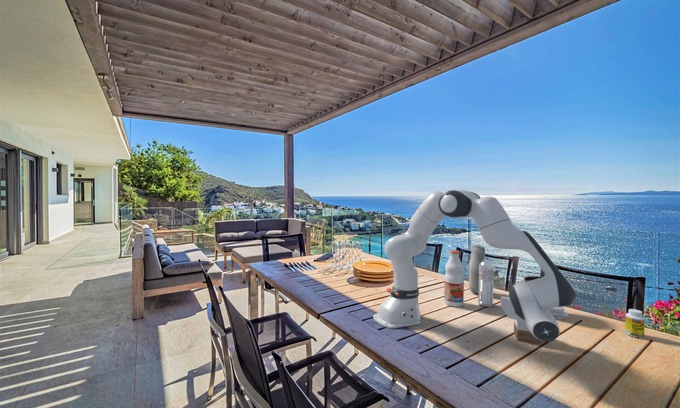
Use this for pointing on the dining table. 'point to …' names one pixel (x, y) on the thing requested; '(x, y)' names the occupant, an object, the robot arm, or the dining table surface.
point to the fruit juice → (454, 281)
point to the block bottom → (525, 336)
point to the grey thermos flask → (475, 267)
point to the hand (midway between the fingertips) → (527, 299)
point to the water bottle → (486, 283)
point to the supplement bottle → (634, 323)
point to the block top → (521, 325)
